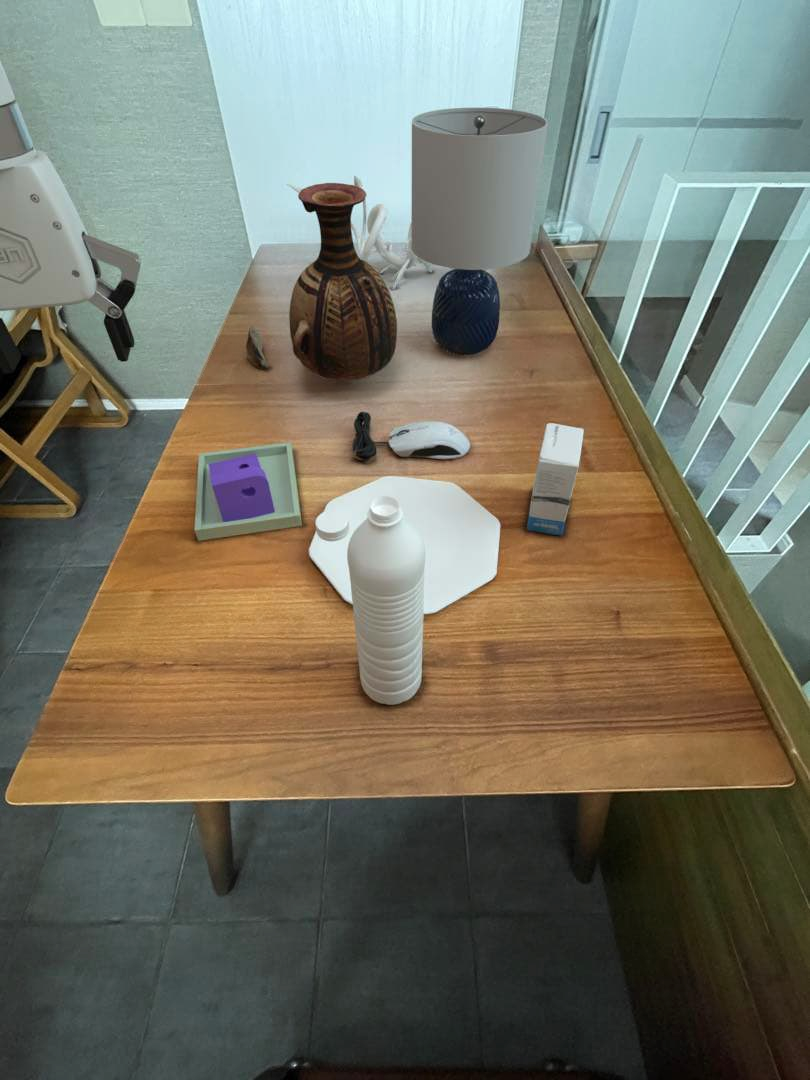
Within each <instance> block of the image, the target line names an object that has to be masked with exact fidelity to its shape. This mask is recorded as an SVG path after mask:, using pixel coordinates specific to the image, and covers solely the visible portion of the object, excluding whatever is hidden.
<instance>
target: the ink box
mask: <svg viewBox="0 0 810 1080" xmlns="http://www.w3.org/2000/svg"><path fill="white" fill-rule="evenodd" d="M584 431H585V430H584V428H583V427H576V426H570V425H564V424H560V423H553V422H549V423H546V425H545V430H544V434H543V440H542V444H541V448H540V452H539V457H538V462H537V466H536V471H535V477H534V481H533V488H532V493H531V499H530V505H529V510H528V517H527V523H526V530H527V531H529V532H536V533H541V534H547V535H553V536H554V535H555V536H559V537H560V536H563V533H564V528H565V524H566V520H567V516H568V511H569V507H570V504H571V500H572V495H573V492H574V487H575V483H576V479H577V475H578V472H579V471H578V470H579V466H580V462H581V455H582V447H583V440H584Z"/></svg>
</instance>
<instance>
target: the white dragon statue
mask: <svg viewBox="0 0 810 1080" xmlns="http://www.w3.org/2000/svg"><path fill="white" fill-rule="evenodd" d="M286 185H287V186H288V187H289V188H292V190H294V191H296V192H297V193H298V194H299V193H300V191H301V190H302V189H303V188H301V187H299V186H296V185H292V184H288V183H286ZM353 185H354V186H357V187H360V188H361V189H363V181H362V180H361V179H360V178H358V177H357V176H356V175H353ZM366 199H367V198H365V200H364V201H363V202H362V209H363V210H362V229H361V238H360V236H359V233H358V231H357V228H356V227H355V225H354V223H353V222H352V221H351V231H352V232H353V234H354V237H355V239H356V244H357V249H358V257H359V258H360V259H361V260H363V261H365V262H367V261H368V259H369V256H370V255H371V253H377V254H378V255H379V256H380V257H381V258H382V259H383V260H385V261H386V262H387V263H388V264H389V265H388V264H387V265H386V266H385V267H384V268H383V269H382V270H380V272H379V274H382V273H384V272H385V271H386V270H388V269H390V267H394V268H396V269H398V271H397V272H396V273H395V274H394V276H392V277H391V279H394V278H396V279H395V281H394V283H393V286H392V290H395V289H396V288H397V286H398V284H399V282H400V281H402V279H403V277H404V274H405V271H406V270H408V269H410V268H412V267H416V266H417V264H415V263H416V261H418V262H419V264H423V266H424V267H425V269H427V270H428V272H430V273H432V272H433V269H432V264H431V263H429V262H426V261H424V260H422V259H420V258H419V257H417V256H416V255H415V254H414V253H413V251H412V248H411V232H412V221H411V222H410V224H409V228H408V232H407V243H406V245H405V247H404V248H402V250H401V251H402V252H405V253H403V254H402V255H401V257H400V256H398V255H396V254H395V253H393V252H392V248H393V243H391V244H390V243H389V242H387V243H385V235H384V232H383V231H382V233H381V234H380V232H381V230H382V228H383V226H384V224H385V221H386V219H387V216H388V207H387V206H386V205H385V204H383V203H379V204H378V203H377V204H376V205H374V206H373V207H372V208H371V210H370V211H369V213H368V216H367V200H366ZM366 231H367V234H368V237H367V239H366ZM373 247H374V248H373ZM403 257H404V258H403ZM367 263H368V262H367Z"/></svg>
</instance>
